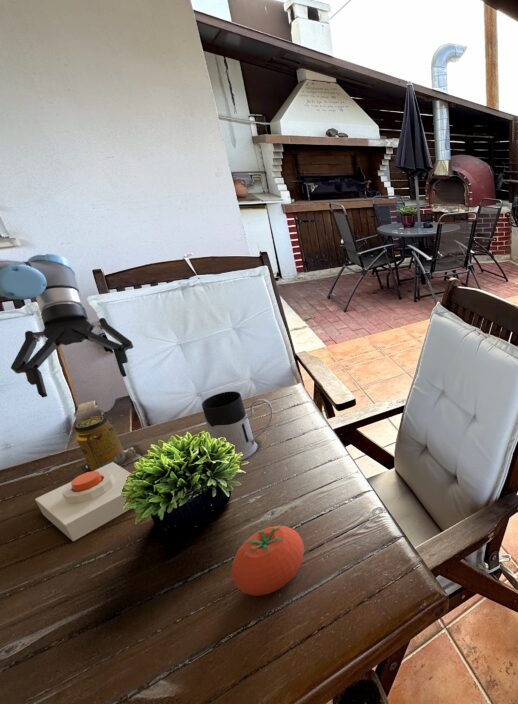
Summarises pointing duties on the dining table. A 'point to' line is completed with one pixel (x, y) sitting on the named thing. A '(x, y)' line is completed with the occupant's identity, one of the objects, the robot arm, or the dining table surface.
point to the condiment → (100, 443)
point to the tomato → (267, 560)
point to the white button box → (86, 503)
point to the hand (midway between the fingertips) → (85, 384)
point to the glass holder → (231, 421)
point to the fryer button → (86, 481)
